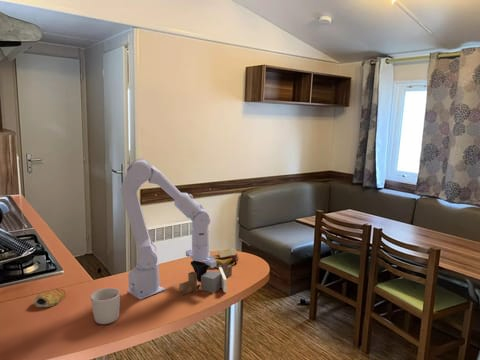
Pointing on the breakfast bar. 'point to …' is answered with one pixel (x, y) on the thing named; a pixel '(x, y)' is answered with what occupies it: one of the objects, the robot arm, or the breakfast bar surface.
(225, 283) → the door
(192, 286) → the stepped wooden block
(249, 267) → the breakfast bar surface
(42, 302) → the pastry
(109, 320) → the cup
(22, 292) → the breakfast bar surface
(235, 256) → the toy sandwich meal
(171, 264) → the breakfast bar surface
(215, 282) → the grey cube
